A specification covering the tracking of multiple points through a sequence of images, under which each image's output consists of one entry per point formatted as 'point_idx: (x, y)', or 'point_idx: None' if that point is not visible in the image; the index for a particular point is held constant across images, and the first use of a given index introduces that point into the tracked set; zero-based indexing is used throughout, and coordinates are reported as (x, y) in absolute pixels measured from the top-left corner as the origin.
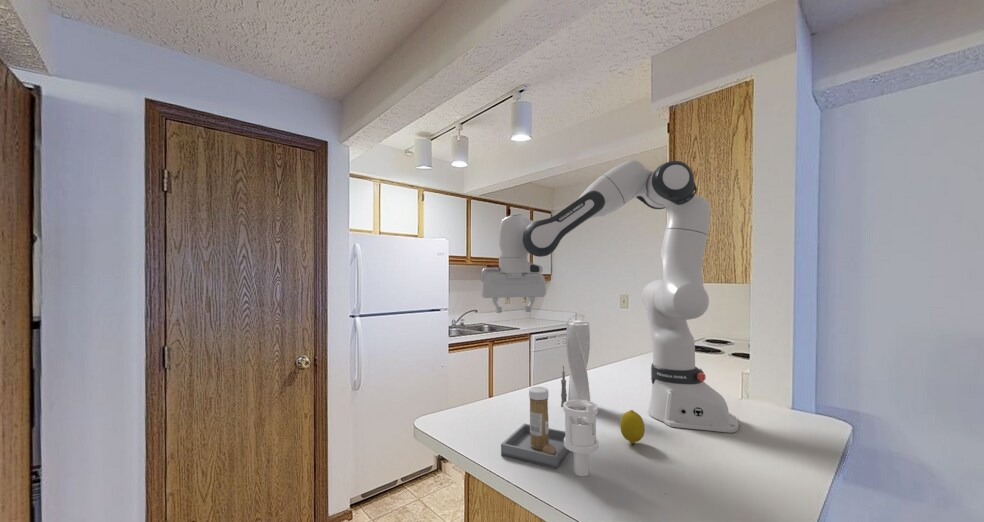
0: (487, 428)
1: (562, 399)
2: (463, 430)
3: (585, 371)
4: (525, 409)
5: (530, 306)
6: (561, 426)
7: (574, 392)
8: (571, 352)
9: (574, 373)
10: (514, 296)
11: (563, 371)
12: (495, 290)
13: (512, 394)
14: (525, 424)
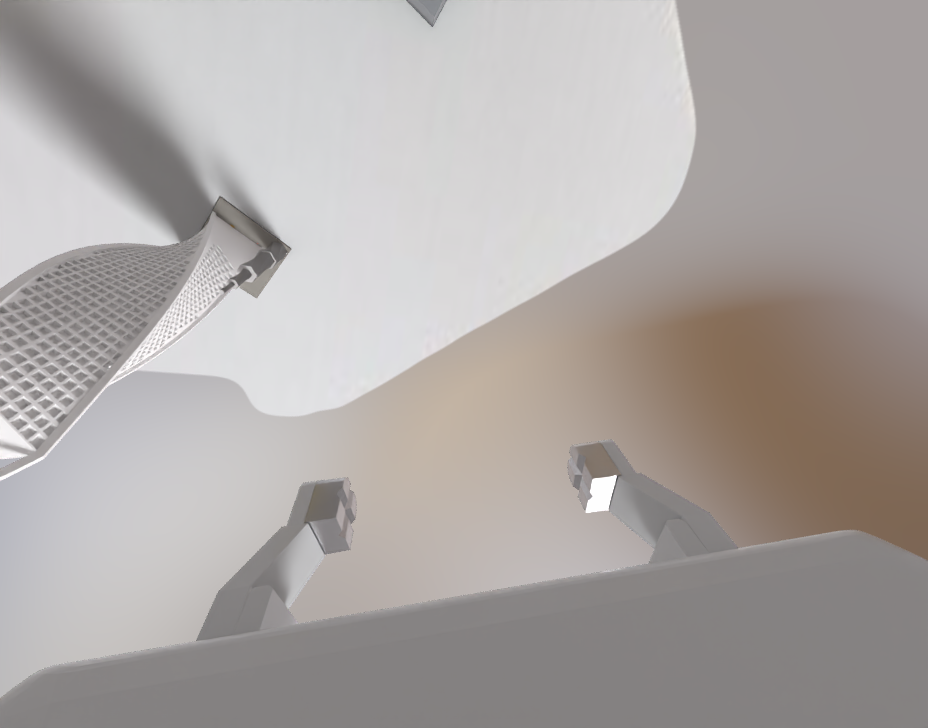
0: (533, 102)
1: (276, 251)
2: (600, 101)
3: (119, 248)
4: (400, 241)
5: (296, 521)
6: (300, 64)
7: (222, 249)
8: (138, 305)
9: (182, 261)
10: (493, 599)
11: (231, 282)
12: (841, 660)
13: (420, 357)
14: (431, 2)
